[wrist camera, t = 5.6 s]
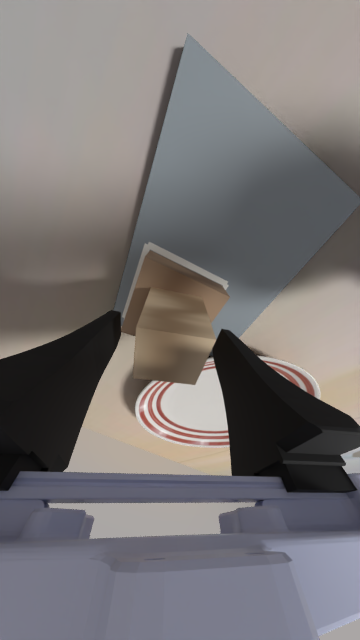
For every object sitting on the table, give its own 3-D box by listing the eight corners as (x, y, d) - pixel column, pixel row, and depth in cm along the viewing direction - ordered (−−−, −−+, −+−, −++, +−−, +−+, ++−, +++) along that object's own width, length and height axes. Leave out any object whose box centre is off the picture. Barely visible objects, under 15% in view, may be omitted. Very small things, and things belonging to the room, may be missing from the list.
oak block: (202, 297, 12) (216, 339, 8) (189, 335, 14) (195, 385, 10) (151, 287, 11) (136, 327, 7) (146, 328, 13) (132, 378, 9)
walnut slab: (222, 285, 14) (230, 297, 12) (187, 337, 17) (189, 353, 15) (150, 250, 12) (144, 256, 10) (127, 316, 15) (120, 331, 13)
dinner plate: (119, 416, 29) (114, 437, 26) (185, 305, 15) (187, 325, 13) (232, 437, 36) (236, 455, 34) (343, 374, 23) (366, 396, 20)
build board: (354, 201, 11) (363, 200, 10) (218, 355, 20) (219, 359, 19) (186, 45, 7) (187, 32, 7) (112, 319, 16) (110, 322, 16)
